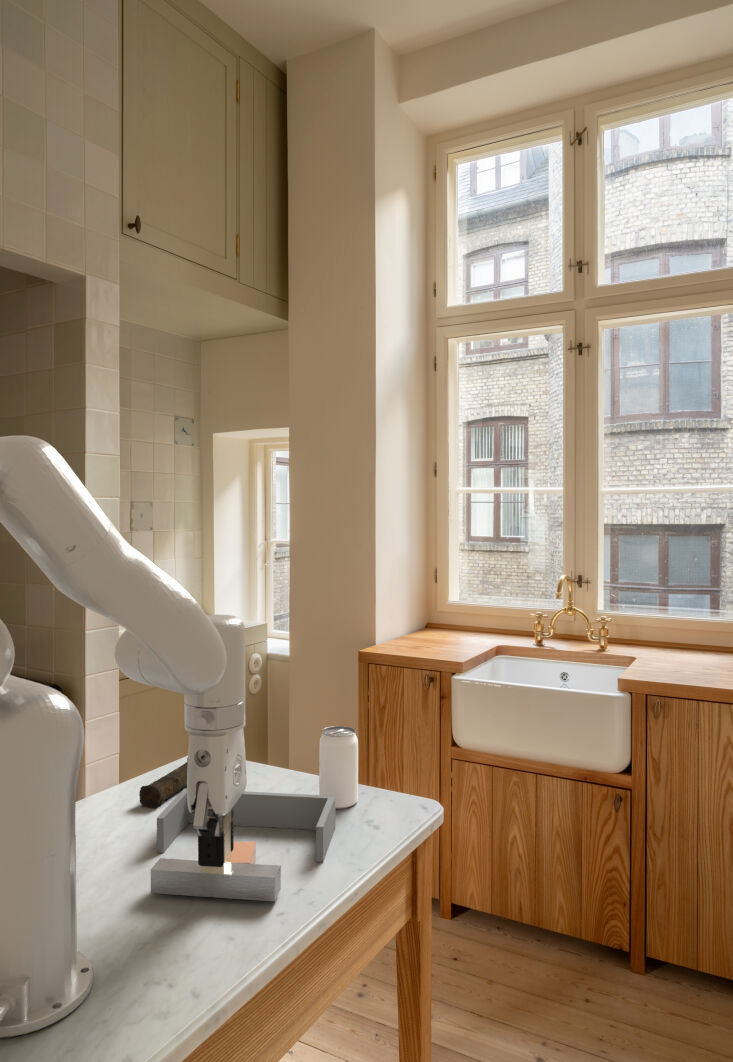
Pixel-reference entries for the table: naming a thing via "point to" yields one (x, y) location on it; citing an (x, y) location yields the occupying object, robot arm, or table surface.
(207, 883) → the scraper
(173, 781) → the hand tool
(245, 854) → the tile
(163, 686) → the robot arm
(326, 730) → the can
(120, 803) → the table surface
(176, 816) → the box
